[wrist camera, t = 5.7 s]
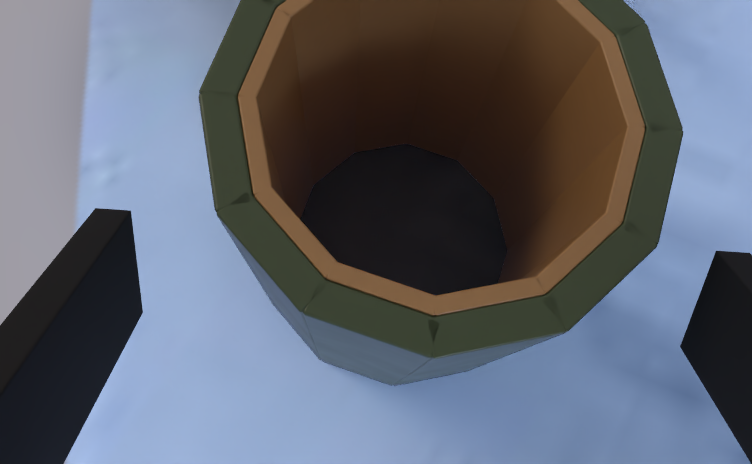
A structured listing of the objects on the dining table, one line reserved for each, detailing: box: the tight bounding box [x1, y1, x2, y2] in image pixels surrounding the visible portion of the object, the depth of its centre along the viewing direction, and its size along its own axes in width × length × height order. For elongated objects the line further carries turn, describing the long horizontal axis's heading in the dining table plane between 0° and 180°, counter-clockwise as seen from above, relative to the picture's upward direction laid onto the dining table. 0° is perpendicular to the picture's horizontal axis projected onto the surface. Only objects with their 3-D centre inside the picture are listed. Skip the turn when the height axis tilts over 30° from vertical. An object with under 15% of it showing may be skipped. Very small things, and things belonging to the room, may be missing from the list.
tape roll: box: [199, 0, 683, 386], centre depth 19 cm, size 10×10×11 cm
